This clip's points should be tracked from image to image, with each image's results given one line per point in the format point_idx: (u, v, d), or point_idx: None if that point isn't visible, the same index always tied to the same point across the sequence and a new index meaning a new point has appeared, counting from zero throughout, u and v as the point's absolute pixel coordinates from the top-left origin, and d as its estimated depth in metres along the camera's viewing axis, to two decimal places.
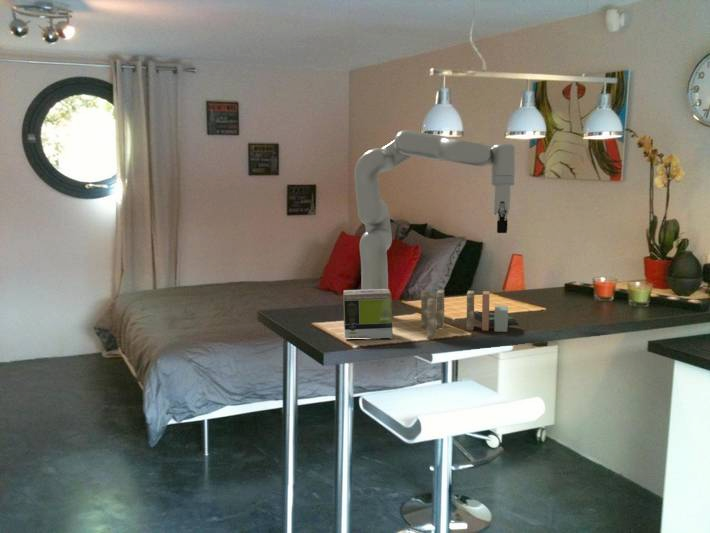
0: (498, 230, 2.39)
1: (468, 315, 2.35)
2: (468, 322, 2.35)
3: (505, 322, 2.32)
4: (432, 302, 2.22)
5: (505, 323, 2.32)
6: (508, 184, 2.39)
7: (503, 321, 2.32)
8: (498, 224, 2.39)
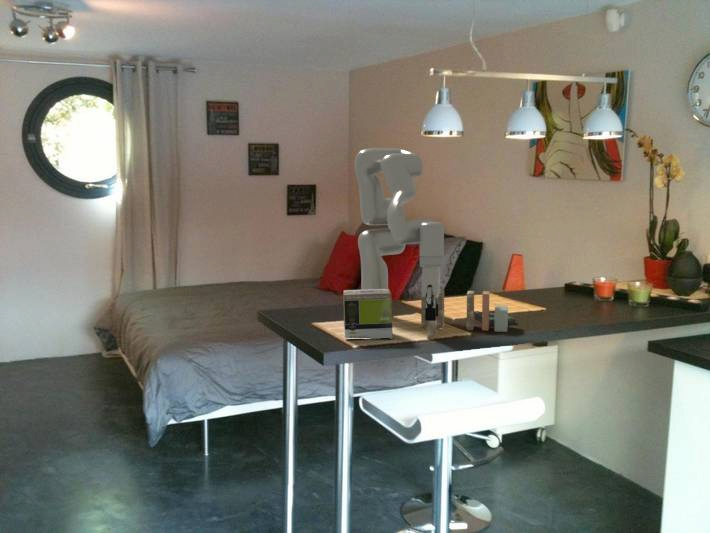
0: (426, 317, 2.22)
1: (468, 315, 2.35)
2: (468, 322, 2.35)
3: (505, 322, 2.32)
4: None
5: (505, 323, 2.32)
6: (436, 266, 2.20)
7: (503, 321, 2.32)
8: (426, 311, 2.22)
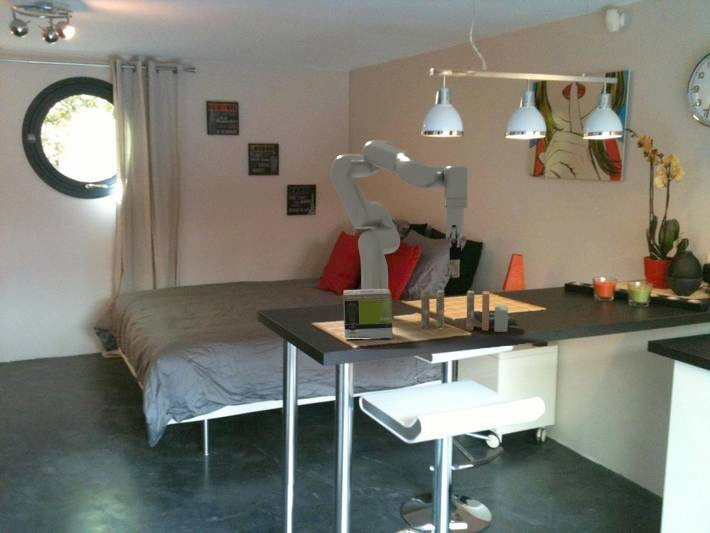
0: (450, 257, 2.33)
1: (468, 315, 2.35)
2: (468, 322, 2.35)
3: (505, 322, 2.32)
4: None
5: (505, 323, 2.32)
6: (460, 207, 2.31)
7: (503, 321, 2.32)
8: (450, 251, 2.33)
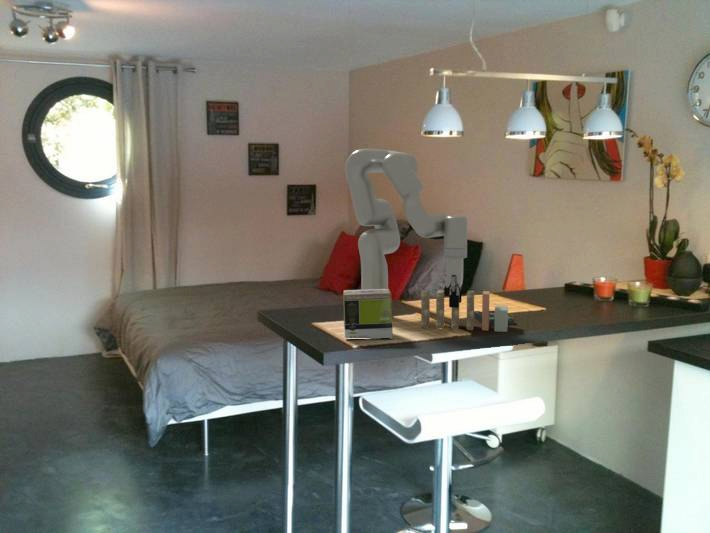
0: (450, 304, 2.34)
1: (468, 315, 2.35)
2: (468, 322, 2.35)
3: (505, 322, 2.32)
4: None
5: (505, 323, 2.32)
6: (460, 257, 2.33)
7: (503, 321, 2.32)
8: (450, 298, 2.34)
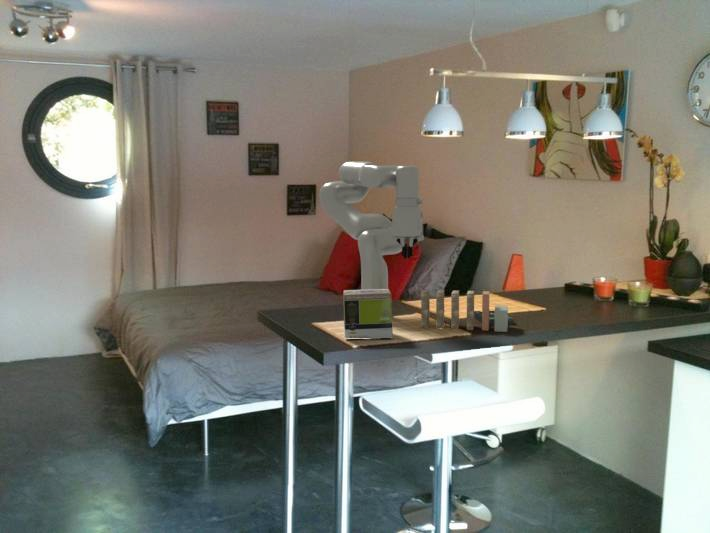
0: None
1: (468, 315, 2.35)
2: (468, 322, 2.35)
3: (505, 322, 2.32)
4: (456, 294, 2.35)
5: (505, 323, 2.32)
6: (396, 206, 2.37)
7: (503, 321, 2.32)
8: None
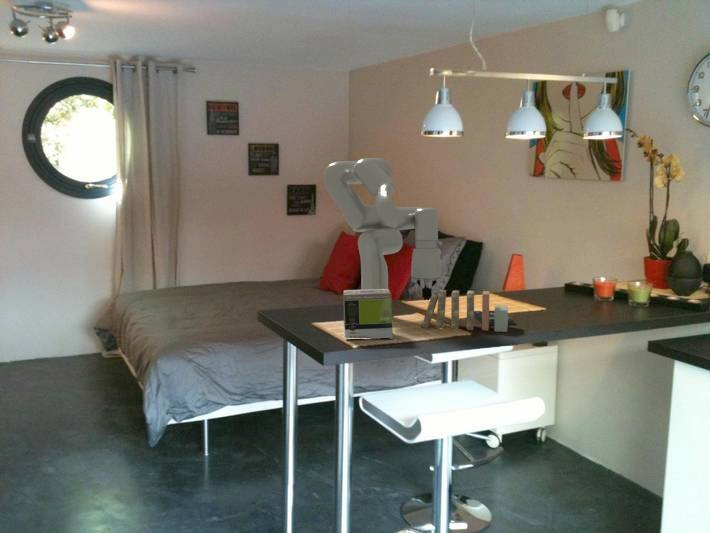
0: None
1: (468, 315, 2.35)
2: (468, 322, 2.35)
3: (505, 322, 2.32)
4: (456, 294, 2.35)
5: (505, 323, 2.32)
6: (416, 248, 2.37)
7: (503, 321, 2.32)
8: None
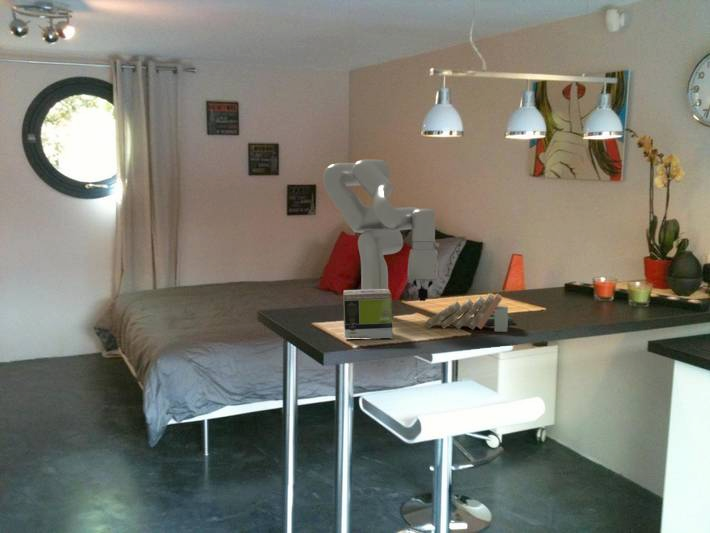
0: None
1: (477, 315, 2.34)
2: (473, 321, 2.35)
3: (505, 322, 2.32)
4: (482, 303, 2.34)
5: (505, 323, 2.32)
6: (413, 249, 2.38)
7: (503, 321, 2.32)
8: None
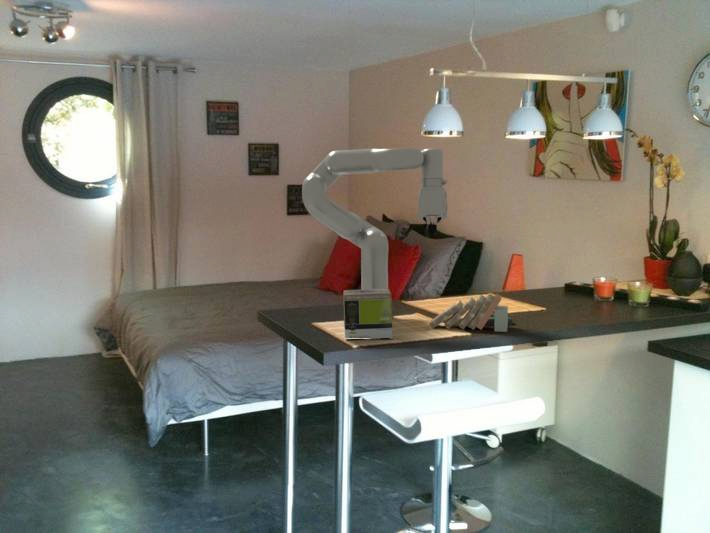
0: None
1: (477, 315, 2.34)
2: (474, 321, 2.35)
3: (505, 322, 2.32)
4: (483, 301, 2.33)
5: (505, 323, 2.32)
6: (422, 186, 2.53)
7: (503, 321, 2.32)
8: None
